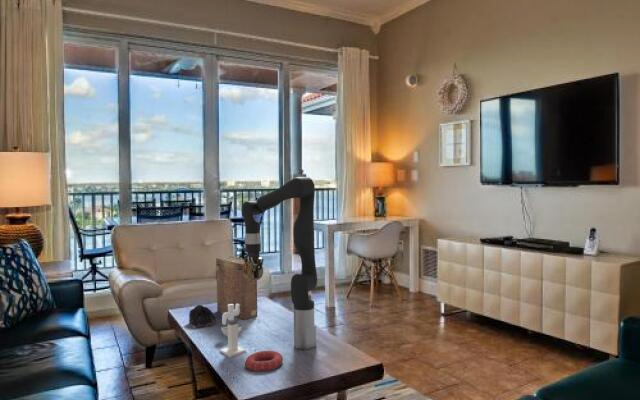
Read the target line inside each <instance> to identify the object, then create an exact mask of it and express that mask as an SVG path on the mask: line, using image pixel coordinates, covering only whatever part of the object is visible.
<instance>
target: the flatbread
mask: <svg viewBox="0 0 640 400" xmlns="http://www.w3.org/2000/svg"><path fill="white" fill-rule="evenodd" d="M256 264H257V263H256ZM259 267H260V266H259ZM252 268H254V267H253V266H252V261H248V262H247V263H245V265H244V267H243V276H244V278H245V279H246V280H247V281H257V282H258V281H259V280H261V279H262V277H263V275H264V267H263V265H262V269H261V270H259V278H257V279H255V278H254V272H253V273H252Z"/></svg>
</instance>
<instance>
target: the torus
mask: <svg viewBox="0 0 640 400" xmlns="http://www.w3.org/2000/svg"><path fill="white" fill-rule="evenodd" d="M283 361H284V358H283V355H282V354H281V353H280V352H277V351H276V350H261V351H256V352H254V353H251V354H250V355H249V356H247V357H246V359H245V361H244V365H245V367H246V368H247V369H248V370H250V371H252V372H268V371H271V370H274V369H276V368H278V367H279V366H281V364H282V363H283Z"/></svg>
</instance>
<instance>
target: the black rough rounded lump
mask: <svg viewBox="0 0 640 400" xmlns="http://www.w3.org/2000/svg"><path fill="white" fill-rule="evenodd" d="M188 317H189V318H188V319H189V320H188V322H189V323H188V324H189V326H190V327H192V328H195V329H196V328H201V327H202V328H203V327H209V326H212V325H214V324H215V323H216V317H215V314H214V312H213V311H212V310H211V309H209V307H206V306H204V305H201V304H197V305H196V306H194V308H193V309H191V310H189V315H188Z"/></svg>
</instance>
